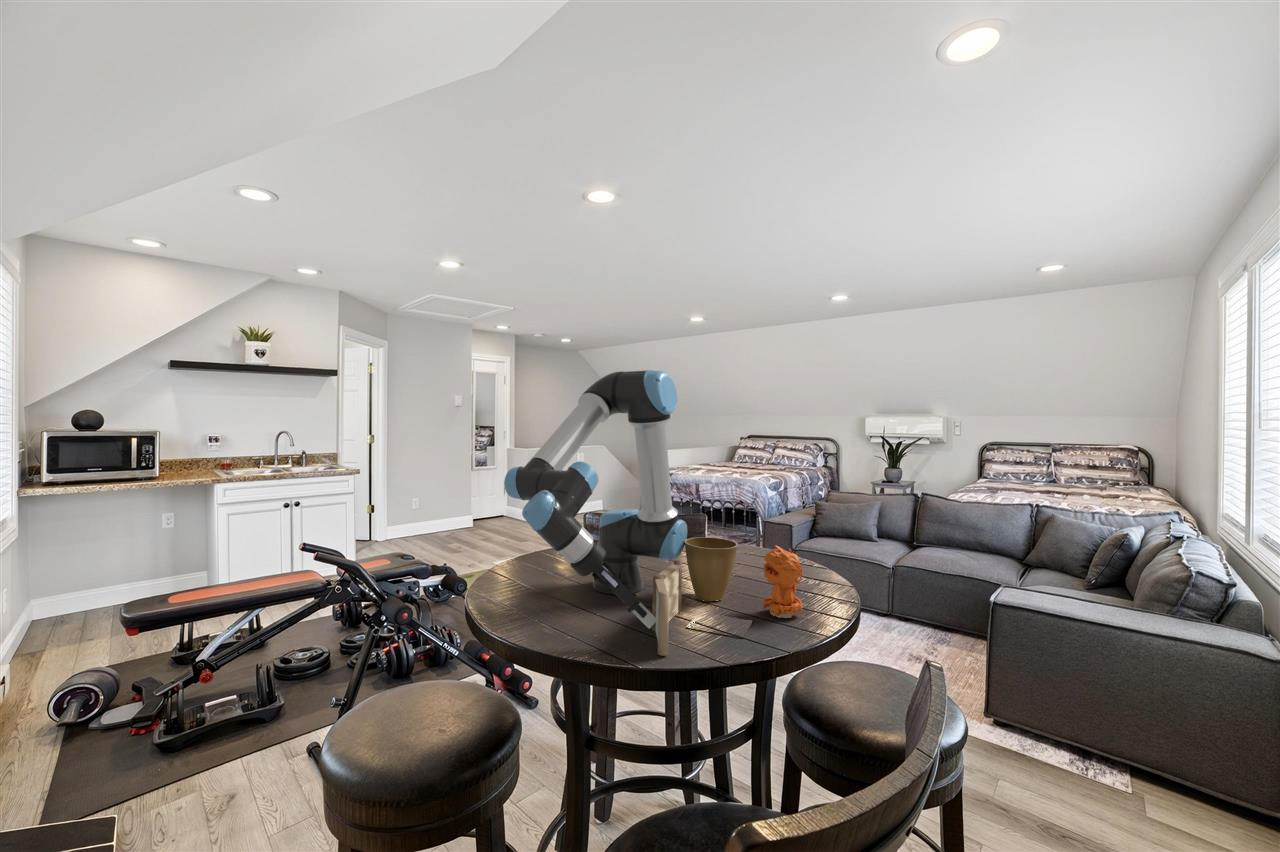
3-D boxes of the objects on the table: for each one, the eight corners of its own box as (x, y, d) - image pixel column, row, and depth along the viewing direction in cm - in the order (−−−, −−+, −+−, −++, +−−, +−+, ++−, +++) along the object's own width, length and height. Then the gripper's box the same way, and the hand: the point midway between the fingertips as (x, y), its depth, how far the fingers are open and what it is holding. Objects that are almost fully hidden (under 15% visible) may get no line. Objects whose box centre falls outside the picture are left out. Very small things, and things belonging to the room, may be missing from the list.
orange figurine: (771, 604, 150) (772, 539, 149) (809, 613, 143) (811, 545, 142) (752, 615, 141) (753, 546, 141) (792, 625, 134) (793, 553, 134)
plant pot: (721, 611, 144) (722, 551, 143) (673, 599, 152) (674, 542, 152) (745, 596, 156) (746, 541, 156) (700, 586, 164) (700, 534, 164)
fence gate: (653, 631, 128) (654, 576, 128) (662, 631, 128) (663, 576, 128) (658, 655, 115) (659, 594, 115) (668, 655, 115) (669, 594, 115)
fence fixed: (673, 610, 144) (674, 559, 144) (683, 611, 143) (684, 560, 143) (650, 631, 129) (651, 575, 129) (660, 633, 128) (661, 576, 128)
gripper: (562, 557, 121) (629, 625, 127) (577, 572, 108) (651, 647, 114) (586, 532, 123) (651, 600, 129) (603, 545, 110) (675, 620, 116)
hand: (651, 622), depth 121 cm, fingers closed
